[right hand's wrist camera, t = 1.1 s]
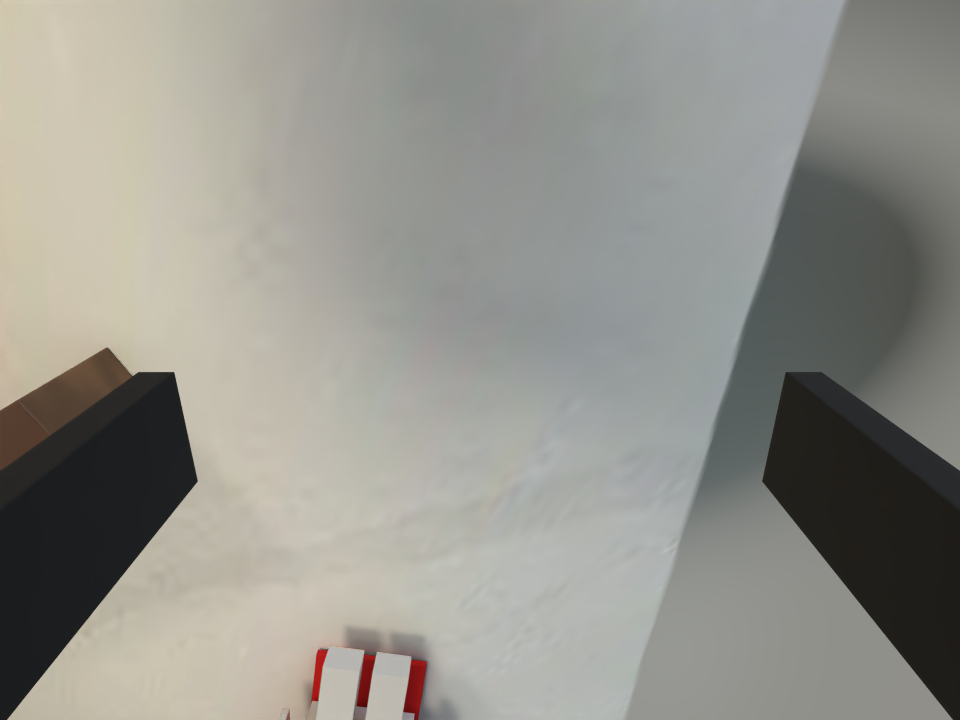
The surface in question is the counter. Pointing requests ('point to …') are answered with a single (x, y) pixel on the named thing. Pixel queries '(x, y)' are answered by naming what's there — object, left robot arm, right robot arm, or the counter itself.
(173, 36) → the counter surface
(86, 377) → the walnut block
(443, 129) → the counter surface
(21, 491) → the right robot arm
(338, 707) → the toy
